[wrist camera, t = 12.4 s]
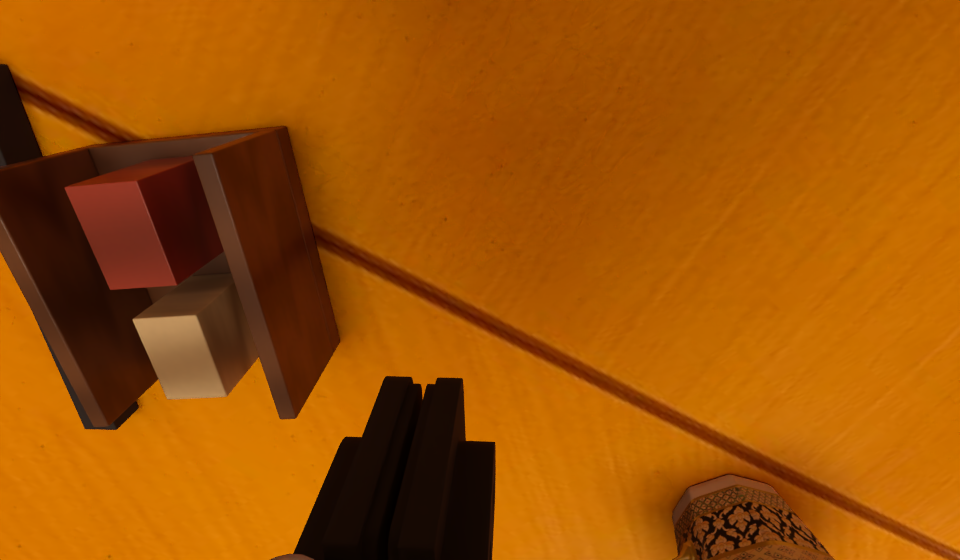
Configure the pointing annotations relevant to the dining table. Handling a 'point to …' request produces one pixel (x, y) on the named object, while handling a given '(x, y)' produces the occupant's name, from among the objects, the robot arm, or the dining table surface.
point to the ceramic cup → (741, 524)
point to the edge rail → (10, 140)
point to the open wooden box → (171, 267)
